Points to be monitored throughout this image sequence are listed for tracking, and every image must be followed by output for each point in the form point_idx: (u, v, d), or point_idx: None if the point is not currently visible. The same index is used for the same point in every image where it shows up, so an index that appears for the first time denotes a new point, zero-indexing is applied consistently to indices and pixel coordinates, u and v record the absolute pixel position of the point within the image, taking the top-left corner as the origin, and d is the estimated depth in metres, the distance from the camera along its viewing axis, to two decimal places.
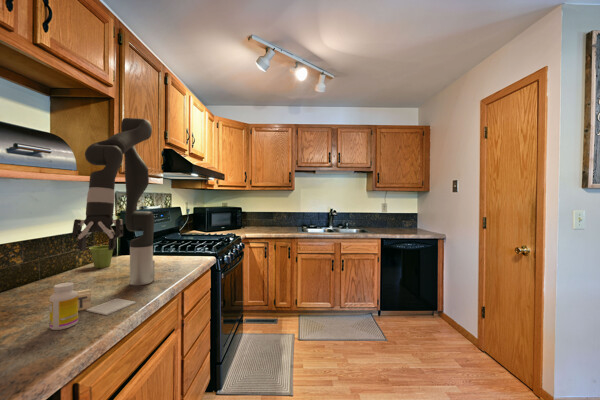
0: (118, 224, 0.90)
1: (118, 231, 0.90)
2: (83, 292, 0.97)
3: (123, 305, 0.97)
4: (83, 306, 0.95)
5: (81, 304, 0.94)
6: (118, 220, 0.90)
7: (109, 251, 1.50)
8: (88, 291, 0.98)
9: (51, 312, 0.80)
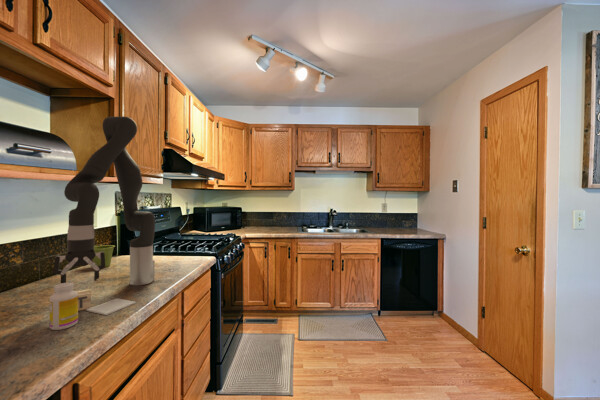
0: (103, 257, 0.99)
1: (103, 263, 0.99)
2: (83, 292, 0.97)
3: (123, 305, 0.97)
4: (83, 306, 0.95)
5: (81, 304, 0.94)
6: (103, 253, 0.99)
7: (109, 251, 1.50)
8: (88, 291, 0.98)
9: (51, 312, 0.80)
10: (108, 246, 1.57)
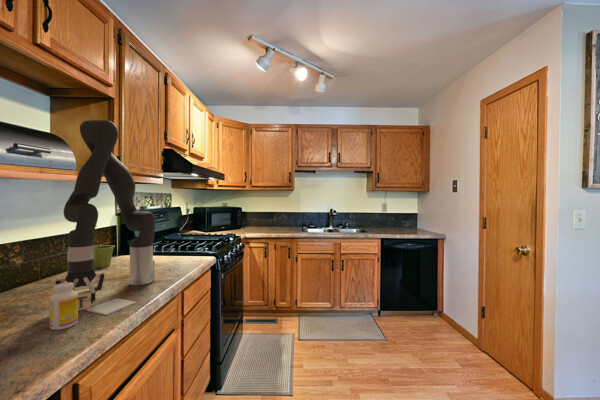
0: (102, 279, 0.99)
1: (100, 285, 0.99)
2: (83, 291, 0.97)
3: (123, 305, 0.97)
4: (83, 305, 0.95)
5: (81, 303, 0.94)
6: (103, 275, 0.99)
7: (109, 251, 1.50)
8: (88, 290, 0.98)
9: (51, 312, 0.80)
10: (108, 246, 1.57)
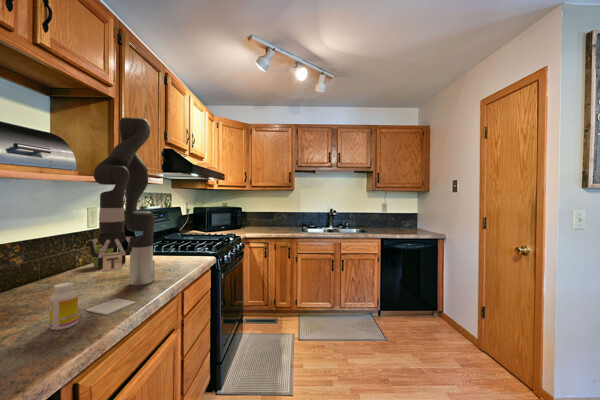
0: (132, 242, 1.00)
1: (130, 248, 1.00)
2: (114, 253, 0.98)
3: (123, 305, 0.97)
4: (114, 267, 0.95)
5: (113, 264, 0.95)
6: (133, 238, 1.00)
7: (109, 251, 1.50)
8: (118, 253, 0.99)
9: (51, 312, 0.80)
10: None
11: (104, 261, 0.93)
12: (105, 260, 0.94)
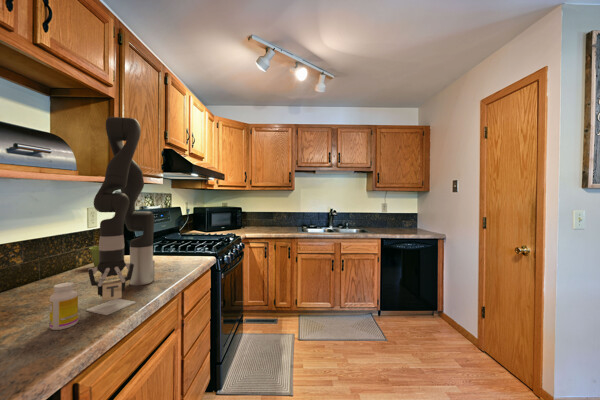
0: (132, 269, 1.00)
1: (130, 275, 1.00)
2: (113, 281, 0.98)
3: (123, 305, 0.97)
4: (114, 295, 0.95)
5: (112, 292, 0.95)
6: (132, 265, 1.00)
7: None
8: (118, 280, 0.99)
9: (51, 312, 0.80)
10: None
11: (104, 289, 0.93)
12: (105, 289, 0.94)
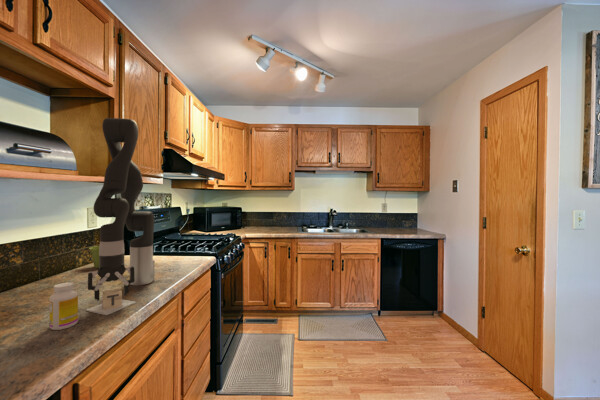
0: (133, 271, 1.00)
1: (133, 278, 1.00)
2: (114, 289, 0.98)
3: (123, 305, 0.97)
4: (114, 303, 0.96)
5: (113, 301, 0.95)
6: (133, 268, 1.00)
7: None
8: (118, 288, 0.99)
9: (51, 312, 0.80)
10: None
11: (104, 298, 0.94)
12: (105, 298, 0.94)
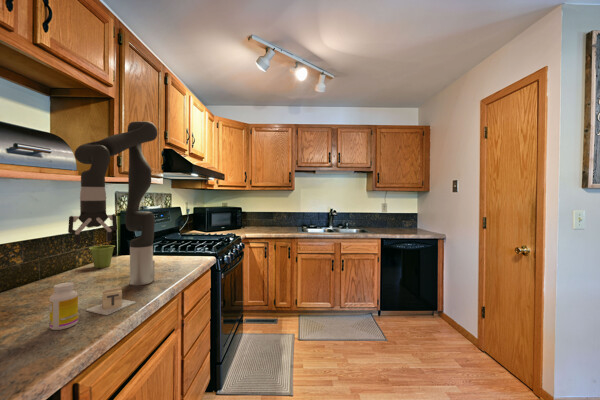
0: (115, 219, 1.02)
1: (115, 225, 1.02)
2: (114, 289, 0.98)
3: (123, 305, 0.97)
4: (114, 303, 0.96)
5: (113, 301, 0.95)
6: (115, 215, 1.02)
7: (109, 251, 1.50)
8: (118, 288, 0.99)
9: (51, 312, 0.80)
10: (108, 246, 1.57)
11: (104, 298, 0.94)
12: (105, 298, 0.94)
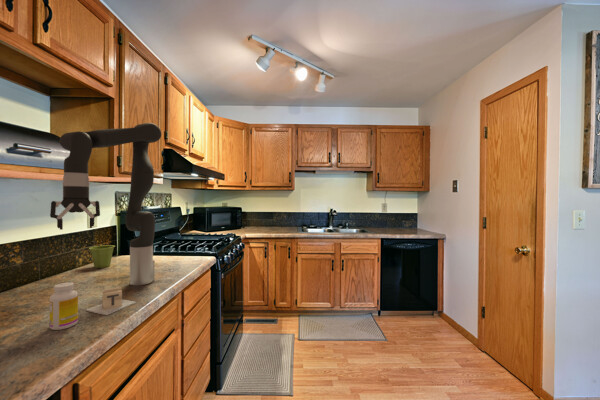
0: (98, 205, 1.03)
1: (98, 211, 1.03)
2: (114, 289, 0.98)
3: (123, 305, 0.97)
4: (114, 303, 0.96)
5: (113, 301, 0.95)
6: (97, 202, 1.03)
7: (109, 251, 1.50)
8: (118, 288, 0.99)
9: (51, 312, 0.80)
10: (108, 246, 1.57)
11: (104, 298, 0.94)
12: (105, 298, 0.94)
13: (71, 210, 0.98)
